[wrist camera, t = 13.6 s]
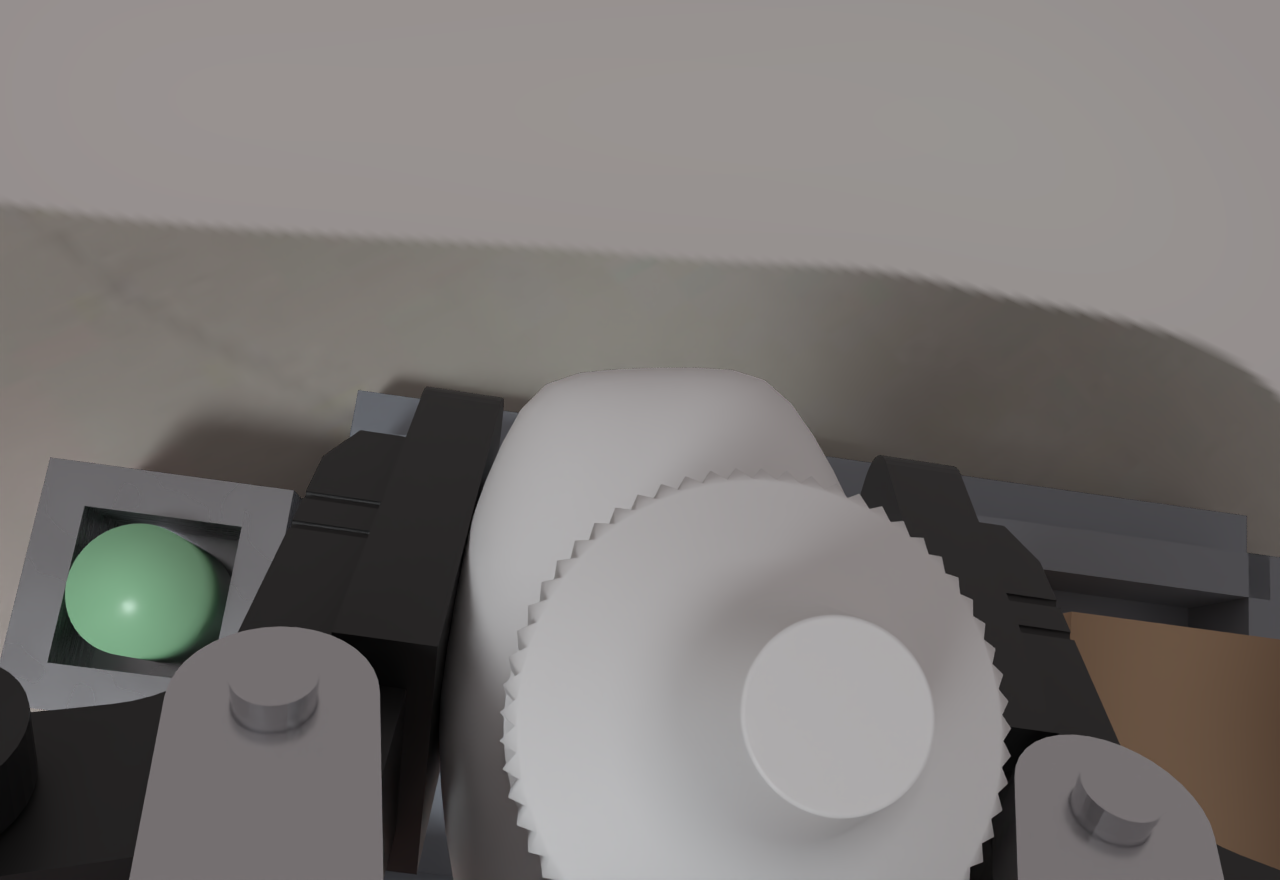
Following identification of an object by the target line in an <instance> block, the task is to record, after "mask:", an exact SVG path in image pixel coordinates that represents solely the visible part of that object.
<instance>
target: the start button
mask: <svg viewBox="0 0 1280 880" xmlns="http://www.w3.org/2000/svg"><path fill="white" fill-rule="evenodd" d="M230 582H231V578H230V576H229V573H228V572H227V570H226V569H225V567H224V566H223V565H222V563H221V562H220V561H219V560H218V559H217V558H215V557H214V556H213V555H211V554H210V553H208V552H207V551H205V550H203V549H201V548H200V547H198V546H196V545H194V544H193V543H191V542H189V541H187V540H186V539H184V538H182V537H180V536H179V535H177V534H175V533H173V532H171V531H169V530H167V529H165V528H162V527H159V526H156V525H151V524H128V525H123V526H119V527H116V528H113V529H111V530H109V531H106V532H104V533H103V534H101V535H99V536H98V537H96V538H95V539H94V540H92V541H91V542H90V543H89V544H88V545H87V546H86V547H85V548H84V549H83V550H82V551H81V553H80V554H79V555H78V556H77V558H76V560H75V561H74V563H73V565H72V567H71V569H70V571H69V575H68V578H67V582H66V588H65V602H66V608H67V612H68V615H69V618H70V620H71V623H72V624H73V626H74V628H75V629H76V631H77V632H78V633H79V634H80V636H81V637H82V638H83V639H85V640H86V641H87V642H88V643H89V644H91V645H92V646H94V647H96V648H98V649H100V650H102V651H104V652H107V653H110V654H115V655H120V656H126V657H131V658H137V659H142V660H148V661H153V662H159V663H179V662H184V661H186V660H187V659H188V658H189V657H191V656H192V655H193V654H194V653H196V652H197V651H198V650H200V649H202V648H203V647H205V646H207V645H208V644H210V643H212V642H214V641H216V640H219V636H220V631H221V626H222V621H223V616H224V611H225V606H226V601H227V597H228V592H229V587H230Z"/></svg>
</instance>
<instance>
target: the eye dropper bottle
mask: <svg viewBox="0 0 1280 880" xmlns="http://www.w3.org/2000/svg"><path fill="white" fill-rule="evenodd" d="M984 633H985V623H984V622H982V621H980V620H979V619H977V618H976V617H974V616H973V600H972V599H970V598H968V597H966V596H964V595H961V594H960V588H959V579H958V577H955V576H952V575H949V574H946V573H945V569H944V565H943V560H942V557H940V556H935V555H930V554H928V551H927V548H926V544H925V541H924V538H917V537H910V535H909V533H908V531H907V528H906V526H905V523H904V521H897V522H890V520H889V518H888V516H887V515H886V513H885V511H884V509H883V507H882V506H881V507H876V508H871V509H869V508H868V506H867V504H866V503H865V501H864V500H863V498H862V497H861V495H860V494H857V495H854V496H852V497H849V498H847V497H846V495H845V493H844V491H843V489H842V487H841V485H840V483H839V481H838V479H837V477H836V475H835V473H834V471H833V469H832V467H831V465H830V464H829V462H828V460H827V458H826V457H825V455H824V453H823V451H822V450H821V448H820V446H819V444H818V443H817V441H816V439H815V437H814V435H813V434H812V433H811V431H810V430H809V428H808V427H807V425H806V424H805V422H804V421H803V420H802V418H801V417H800V415H799V414H798V412H797V411H796V409H795V408H794V407H793V405H792V404H791V403H790V402H789V401H788V400H787V399H786V398H785V397H784V396H782V395H781V394H780V393H779V392H778V391H777V390H776V389H774V388H773V387H772V386H771V385H770V384H769V383H768V382H766V381H765V380H763V379H760V378H757V377H754V376H751V375H747V374H744V373H741V372H738V371H735V370H730V369H712V368H632V369H614V370H603V371H592V372H582V373H577V374H574V375H571V376H569V377H566V378H563V379H560V380H557V381H554V382H551V383H548V384H546V385H545V386H544V387H543V388H542V389H541V390H540V391H539V392H538V393H537V394H536V395H535V396H534V397H533V398H532V399H531V400H530V401H529V402H528V403H527V404H526V405H525V406H524V407H523V408H522V409H521V410H520V412H519V414H518V415H517V417H516V419H515V421H514V423H513V425H512V426H511V428H510V430H509V432H508V434H507V435H506V437H505V439H504V441H503V443H502V445H501V447H500V449H499V451H498V454H497V456H496V458H495V461H494V463H493V465H492V468H491V470H490V472H489V474H488V477H487V479H486V482H485V484H484V487H483V490H482V493H481V495H480V498H479V501H478V504H477V507H476V509H475V512H474V515H473V518H472V521H471V525H470V529H469V534H468V538H467V542H466V547H465V552H464V556H463V561H462V567H461V572H460V578H459V583H458V588H457V594H456V599H455V605H454V611H453V617H452V623H451V629H450V634H449V641H448V647H447V654H446V661H445V667H444V675H443V682H442V689H441V699H440V716H439V752H440V778H441V792H442V802H443V812H444V821H445V831H446V838H447V844H448V850H449V856H450V862H451V868H452V874H453V880H970V867H971V866H974V865H977V864H979V863H982V862H983V853H982V843H983V842H985V841H987V840H989V839H991V838H993V837H994V833H993V827H992V821H991V818H993V817H994V816H996V815H997V814H998V813H1000V812H1001V811H1002V807H1001V803H1000V799H999V796H998V793H999V792H1000V791H1001V790H1002V789H1003V788H1004V787H1005V786H1006V785H1007V784H1008V782H1007V779H1006V777H1005V774H1004V771H1003V769H1002V767H1003V765H1004V764H1005V763H1006V762H1007V760H1008V759H1009V758H1010V756H1011V755H1010V753H1009V751H1008V749H1007V747H1006V745H1005V743H1004V739H1005V738H1006V736H1007V734H1008V733H1009V731H1010V729H1011V728H1010V726H1009V725H1008V723H1007V722H1006V720H1005V718H1004V717H1003V715H1002V714H1003V712H1004V710H1005V708H1006V706H1007V703H1008V700H1007V699H1006V698H1005V696H1004V695H1003V694H1002V693H1001V691H1000V690H999V686H1000V683H1001V680H1002V677H1003V674H1002V673H1001V672H1000V671H999V670H998V669H997V668H996V667H995V666H994V665H993V664H992V663H993V658H994V653H995V648H994V647H993V646H992V645H990V644H989V643H988V642H987V641H985V640H984Z"/></svg>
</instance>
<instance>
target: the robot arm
mask: <svg viewBox="0 0 1280 880" xmlns="http://www.w3.org/2000/svg"><path fill="white" fill-rule="evenodd" d="M503 408H504V399H503V398H500V397H493V396H486V395H480V394H473V393H466V392H460V391H453V390H446V389H440V388H433V387H426V388H425V389H424V391H423V393H422V396H421V398H420V401H419V404H418V406H417V409H416V412H415V414H414V417H413V419H412V422H411V425H410V427H409V430H408V433H407V435H406V437H404V436H398V435H391V434H384V433H377V432H370V431H364V430H360V431H358V432H357V433H355V434H354V435H353V436H351V437H350V438H348V439H347V440H346V441H344V442H343V443H341V444H340V445H339V446H337V447H336V448H334V449H333V450H331V451H330V452H329V453H327V454H326V455H324V456H323V458H322V460H321V462H320V464H319V466H318V468H317V470H316V472H315V474H314V476H313V478H312V480H311V482H310V484H309V486H308V488H307V491H306V497H305V498H303V499H302V501H301V503H300V505H299V507H298V509H297V511H296V513H295V515H294V517H293V519H292V526H291V528H290V527H289V528H288V530H287V532H286V534H285V536H284V538H283V540H282V542H281V544H280V546H279V548H278V550H277V552H276V554H275V556H274V559H273V561H272V563H271V565H270V567H269V569H268V571H267V573H266V575H265V577H264V579H263V581H262V583H261V585H260V587H259V589H258V592H257V594H256V596H255V598H254V600H253V602H252V604H251V606H250V608H249V610H248V612H247V614H246V616H245V618H244V620H243V622H242V624H241V627H240V629H239V631H238V633H235V634H232V635H228V636H226V637H223V638H221V639H219V640H216V641H214V642H212V643H210V644H208V645H207V646H205V647H203V648H202V649H200V650H198V651H197V652H196V653H194V654H193V655H192V656H191V657H189V658H188V659H187V660H186V661H185V662H184V663H183V664H182V665H181V666H180V667H179V668H178V670H177V671H176V672H175V674H174V675H173V677H172V679H171V680H170V682H169V684H168V687H167V690H166V691H164V692H162V693H159V694H156V695H153V696H149V697H145V698H141V699H137V700H133V701H128V702H121V703H114V704H106V705H97V706H87V707H77V708H68V709H58V710H48V711H39V712H30V705H29V701H28V698H27V694H26V692H25V690H24V689H23V687H22V685H21V684H20V682H19V681H18V680H17V679H16V678H15V677H14V676H13V675H12V674H10V673H9V672H8V671H6V670H5V669H3V668H1V667H0V880H384V876H385V872H386V871H392V872H400V873H408V874H416V875H417V871H418V866H419V862H420V858H421V853H422V849H423V844H424V840H425V835H426V831H427V827H428V822H429V818H430V813H431V809H432V804H433V800H434V796H435V791H436V787H437V782H438V778H439V773H440V752H439V716H440V699H441V689H442V682H443V675H444V667H445V661H446V654H447V647H448V641H449V634H450V629H451V623H452V617H453V611H454V605H455V599H456V594H457V588H458V583H459V578H460V572H461V567H462V561H463V556H464V552H465V547H466V542H467V538H468V534H469V529H470V525H471V521H472V518H473V515H474V512H475V509H476V507H477V504H478V501H479V498H480V495H481V493H482V490H483V487H484V484H485V482H486V479H487V477H488V474H489V472H490V470H491V468H492V465H493V463H494V461H495V458H496V456H497V454H498V451H499V446H500V437H501V429H502V420H503ZM860 495H861V497H862V498H863V500H864V501H865V503H866V504H867V506H868V508H869V509H871V508H876V507H881V506H882V507H883V509H884V511H885V513H886V515H887V516H888V518H889V520H890V522H897V521H904V523H905V526H906V528H907V531H908V533H909V535H910V537H917V538H924V541H925V544H926V548H927V551H928V554H930V555H935V556H940V557H942V560H943V565H944V569H945V573H946V574H949V575H952V576H955V577H958V579H959V588H960V594H961V595H964V596H966V597H968V598H970V599H972V600H973V616H974V617H976V618H977V619H979V620H980V621H982V622H984V623H985V633H984V640H985V641H987V642H988V643H989V644H990V645H992V646H993V647H994V648H995V653H994V658H993V663H992V664H993V665H994V666H995V667H996V668H997V669H998V670H999V671H1000V672H1001V673H1002V674H1003V677H1002V680H1001V683H1000V686H999V690H1000V691H1001V693H1002V694H1003V695H1004V696H1005V698H1006V699H1007V700H1008V703H1007V706H1006V708H1005V710H1004V712H1003V714H1002V715H1003V717H1004V718H1005V720H1006V722H1007V723H1008V725H1009V726H1010V728H1011V729H1010V731H1009V733H1008V734H1007V736H1006V738H1005V739H1004V743H1005V745H1006V747H1007V749H1008V751H1009V753H1010V755H1011V756H1010V758H1009V759H1008V760H1007V762H1006V763H1005V764H1004V765H1003V767H1002V769H1003V771H1004V774H1005V777H1006V779H1007V782H1008V784H1007V785H1006V786H1005V787H1004V788H1003V789H1002V790H1001V791H1000V792H999V793H998V796H999V799H1000V803H1001V807H1002V811H1001V812H1000V813H998V814H997V815H996V816H994V817H993V818H991V821H992V827H993V833H994V837H993V838H991V839H989V840H987V841H985V842H983V843H982V853H983V862H982V863H979V864H977V865H974V866H971V867H970V880H1280V870H1278V869H1276V868H1273V867H1270V866H1268V865H1265V864H1263V863H1260V862H1257V861H1255V860H1252V859H1249V858H1247V857H1244V856H1242V855H1239V854H1237V853H1235V852H1232V851H1230V850H1228V849H1225V848H1223V847H1221V846H1219V845H1218V844H1216V841H1215V836H1214V833H1213V830H1212V827H1211V824H1210V822H1209V820H1208V818H1207V817H1206V815H1205V813H1204V811H1203V809H1202V808H1201V807H1200V805H1199V804H1198V802H1197V801H1196V800H1195V798H1194V797H1193V796H1192V795H1191V794H1190V793H1189V792H1188V791H1187V790H1186V788H1185V787H1184V786H1183V785H1182V784H1181V783H1180V782H1178V781H1177V780H1176V779H1175V778H1174V777H1173V776H1171V775H1170V774H1169V773H1168V772H1167V771H1165V770H1164V769H1162V768H1161V767H1159V766H1158V765H1157V764H1155V763H1154V762H1152V761H1150V760H1149V759H1147V758H1145V757H1143V756H1142V755H1140V754H1138V753H1136V752H1134V751H1132V750H1130V749H1128V748H1125V747H1123V746H1121V745H1120V743H1119V741H1118V739H1117V736H1116V734H1115V732H1114V729H1113V727H1112V725H1111V723H1110V720H1109V718H1108V716H1107V713H1106V711H1105V709H1104V707H1103V704H1102V702H1101V700H1100V698H1099V695H1098V693H1097V691H1096V688H1095V686H1094V684H1093V682H1092V679H1091V677H1090V675H1089V672H1088V670H1087V668H1086V666H1085V663H1084V661H1083V659H1082V656H1081V654H1080V652H1079V650H1078V647H1077V645H1076V643H1075V640H1070V633H1071V631H1070V629H1069V627H1068V625H1067V622H1066V620H1065V618H1064V615H1063V613H1062V611H1061V609H1060V608H1057V607H1056V601H1057V599H1056V597H1055V595H1054V593H1053V590H1052V588H1051V586H1050V583H1049V581H1048V579H1047V577H1046V574H1045V572H1044V570H1043V567H1042V565H1041V563H1040V561H1039V560H1038V559H1037V558H1036V557H1035V556H1034V555H1033V554H1032V553H1031V552H1030V551H1029V550H1028V549H1027V548H1026V547H1025V546H1024V545H1023V544H1022V543H1021V542H1020V541H1019V540H1018V539H1017V538H1016V537H1015V536H1014V535H1013V534H1012V533H1011V532H1010V531H1009V530H1008V529H1007V528H1006V527H1005V526H1002V525H995V524H988V523H982V522H979V521H978V518H977V515H976V513H975V510H974V508H973V505H972V502H971V500H970V497H969V495H968V492H967V489H966V487H965V484H964V482H963V479H962V476H961V474H960V472H959V470H958V469H957V468H956V467H954V466H948V465H941V464H934V463H928V462H921V461H914V460H908V459H901V458H894V457H888V456H881V455H880V456H877V457H876V458H875V459H874V460H873V462H872V463H871V465H870V467H869V469H868V472H867V475H866V478H865V481H864V484H863V487H862V491H861V494H860Z"/></svg>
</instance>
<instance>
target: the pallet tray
mask: <svg viewBox="0 0 1280 880" xmlns="http://www.w3.org/2000/svg"><path fill="white" fill-rule="evenodd" d="M419 401H420V399H417V398H410V397H403V396H396V395H389V394H382V393H375V392H368V391H361V390H358V394H357V400H356V405H355V411H354V416H353V421H352V427H351V432H350V437H351V436H353V435H354V434H355V433H357V432H358V431H360V430H364V431H370V432H377V433H384V434H391V435H398V436H404V437H406V435H407V433H408V430H409V427H410V425H411V422H412V419H413V417H414V414H415V412H416V409H417V406H418V404H419ZM518 414H519V413H516V412H509V411H503V420H502V429H501V437H500V446H499V449H500V447H501V445H502V443H503V441H504V439H505V437H506V435H507V434H508V432H509V430H510V428H511V426H512V425H513V423H514V421H515V419H516V417H517V415H518ZM825 457H826V458H827V460H828V462H829V464H830V465H831V467H832V469H833V471H834V473H835V475H836V477H837V479H838V481H839V483H840V485H841V487H842V489H843V491H844V493H845V495H846V497H847V498H849V497H852V496H854V495H857V494H861V491H862V487H863V484H864V481H865V478H866V475H867V472H868V469H869V467H870V465H871V463H870V462H863V461H856V460H849V459H841V458H834V457H827V456H825ZM961 476H962V475H961ZM962 479H963V482H964V484H965V487H966V489H967V492H968V495H969V497H970V500H971V502H972V505H973V508H974V510H975V513H976V515H977V518H978V521H979V522H982V523H988V524H995V525H1002V526H1005V527H1006V528H1007V529H1008V530H1009V531H1010V532H1011V533H1012V534H1013V535H1014V536H1015V537H1016V538H1017V539H1018V540H1019V541H1020V542H1021V543H1022V544H1023V545H1024V546H1025V547H1026V548H1027V549H1028V550H1029V551H1030V552H1031V553H1032V554H1033V555H1034V556H1035V557H1036V558H1037V559H1038V560H1039V561H1040V563H1041V565H1042V567H1043V570H1044V572H1045V574H1046V577H1047V579H1048V581H1049V583H1050V586H1051V588H1052V590H1053V593H1054V595H1055V597H1056V599H1057V601H1056V607H1057V608H1060V609H1061V611H1062V613H1067V612H1079V613H1086V614H1094V615H1101V616H1109V617H1116V618H1123V619H1131V620H1138V621H1146V622H1153V623H1161V624H1168V625H1175V626H1183V627H1190V628H1198V629H1205V630H1213V631H1220V632H1228V633H1235V634H1242V635H1250V636H1257V637H1265V638H1272V639H1280V557H1273V556H1266V555H1259V554H1252V553H1247V516H1244V515H1237V514H1230V513H1223V512H1216V511H1209V510H1202V509H1195V508H1188V507H1181V506H1174V505H1167V504H1160V503H1152V502H1145V501H1138V500H1131V499H1124V498H1117V497H1110V496H1103V495H1096V494H1089V493H1082V492H1075V491H1068V490H1061V489H1053V488H1046V487H1039V486H1032V485H1025V484H1018V483H1011V482H1004V481H997V480H990V479H983V478H976V477H969V476H962ZM384 880H453V874H452V868H451V862H450V856H449V850H448V844H447V838H446V831H445V821H444V812H443V802H442V792H441V778H440V773H439V778H438V782H437V787H436V791H435V796H434V800H433V804H432V809H431V813H430V818H429V822H428V827H427V831H426V835H425V840H424V844H423V849H422V853H421V858H420V862H419V866H418V871H417V875H416V874H408V873H400V872H392V871H386V872H385V876H384Z"/></svg>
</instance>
